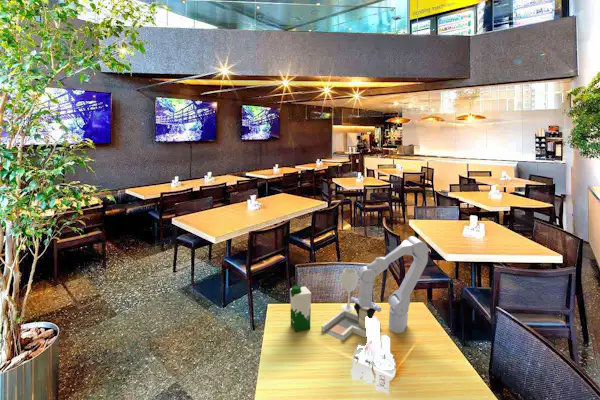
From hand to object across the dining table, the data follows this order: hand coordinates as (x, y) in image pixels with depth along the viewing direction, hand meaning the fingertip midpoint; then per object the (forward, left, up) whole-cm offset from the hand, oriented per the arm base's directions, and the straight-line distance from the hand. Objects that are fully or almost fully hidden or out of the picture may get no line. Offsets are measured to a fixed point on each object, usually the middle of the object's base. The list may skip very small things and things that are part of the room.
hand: (364, 321), depth 142 cm
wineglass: (-13, -16, -5) cm, 21 cm away
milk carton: (+16, -25, -5) cm, 30 cm away
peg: (0, 0, -3) cm, 3 cm away
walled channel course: (+4, -5, -5) cm, 8 cm away
